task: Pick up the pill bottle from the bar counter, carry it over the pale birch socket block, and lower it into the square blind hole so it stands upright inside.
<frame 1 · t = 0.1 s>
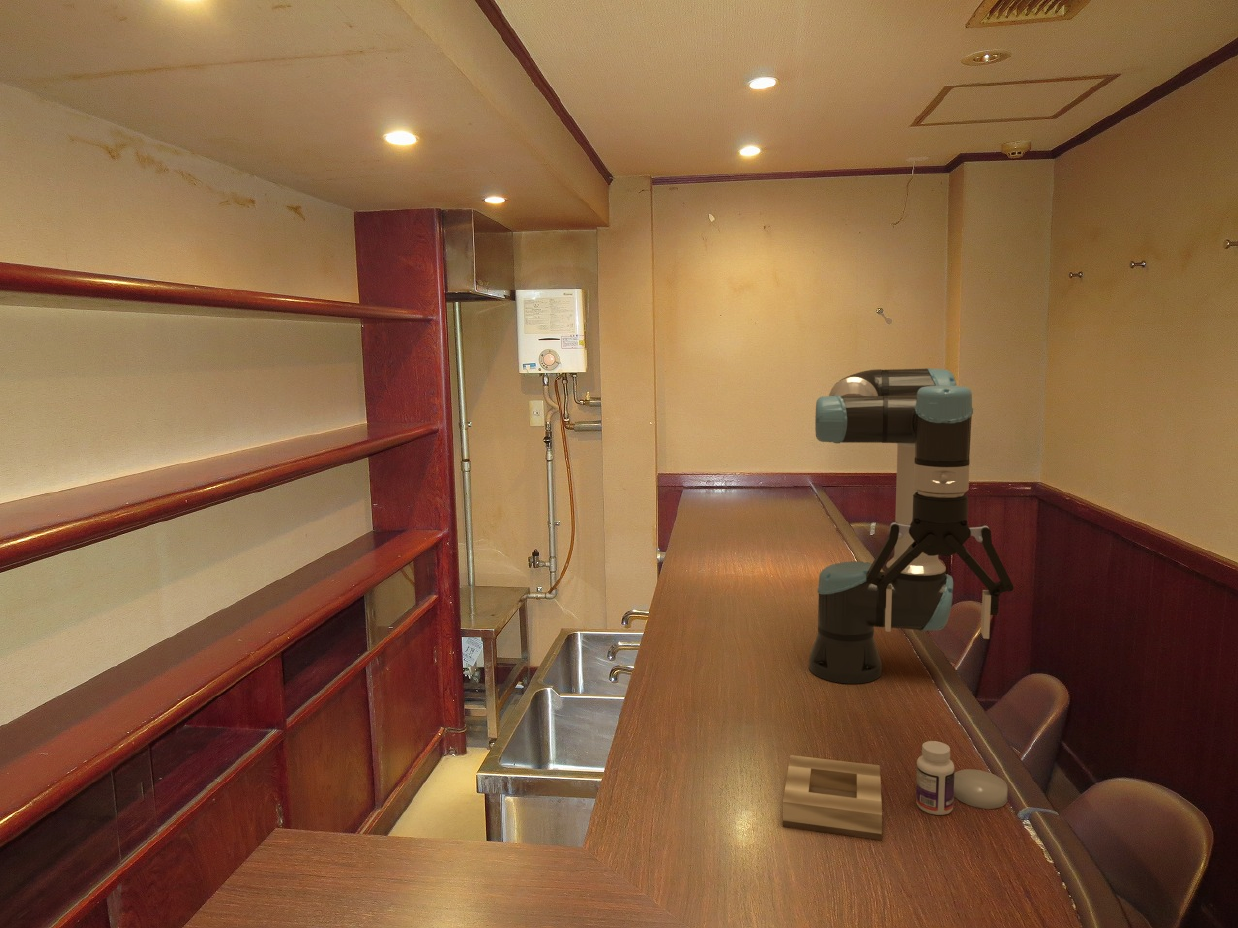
hand: (935, 632, 122), 28 cm above the counter, fingers open, 13 cm apart
pill bottle: (934, 807, 126), on the counter
socket block: (832, 806, 126), on the counter
beige oval dome: (978, 794, 128), on the counter
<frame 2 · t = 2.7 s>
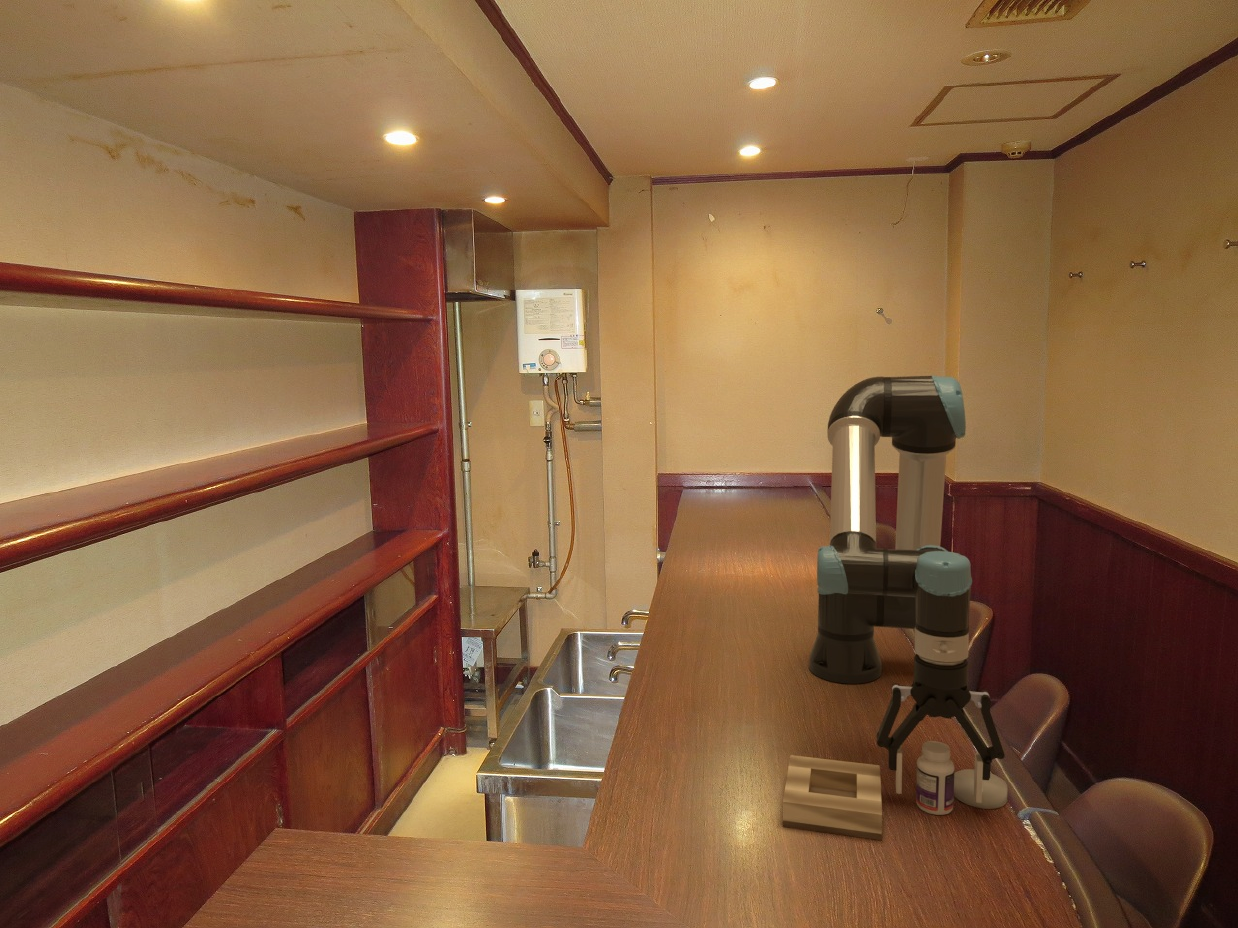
hand: (937, 793, 125), 2 cm above the counter, fingers open, 11 cm apart
nothing on the counter moved.
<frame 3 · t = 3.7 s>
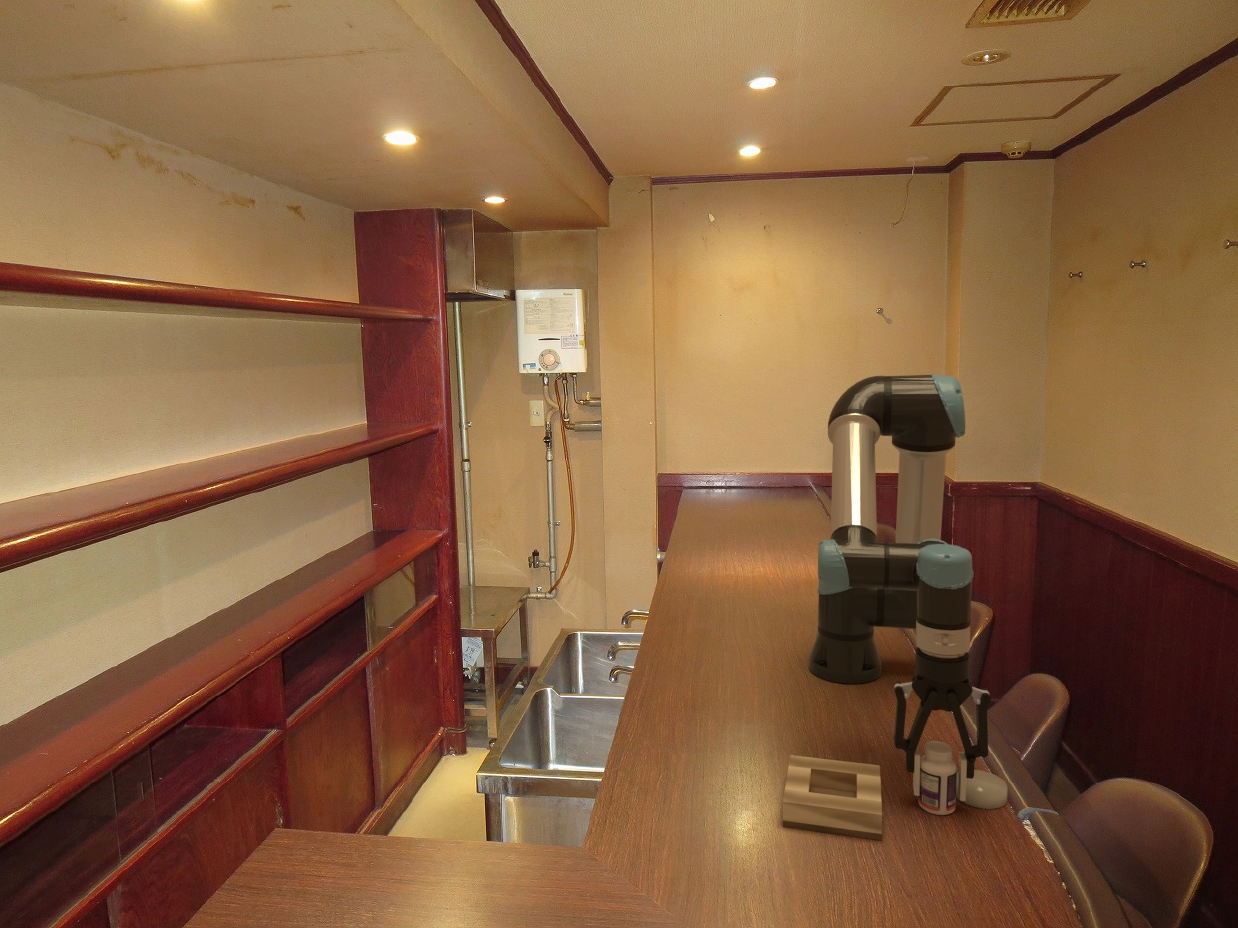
hand: (938, 793, 125), 2 cm above the counter, fingers open, 6 cm apart
pill bottle: (936, 807, 126), on the counter, touching gripper
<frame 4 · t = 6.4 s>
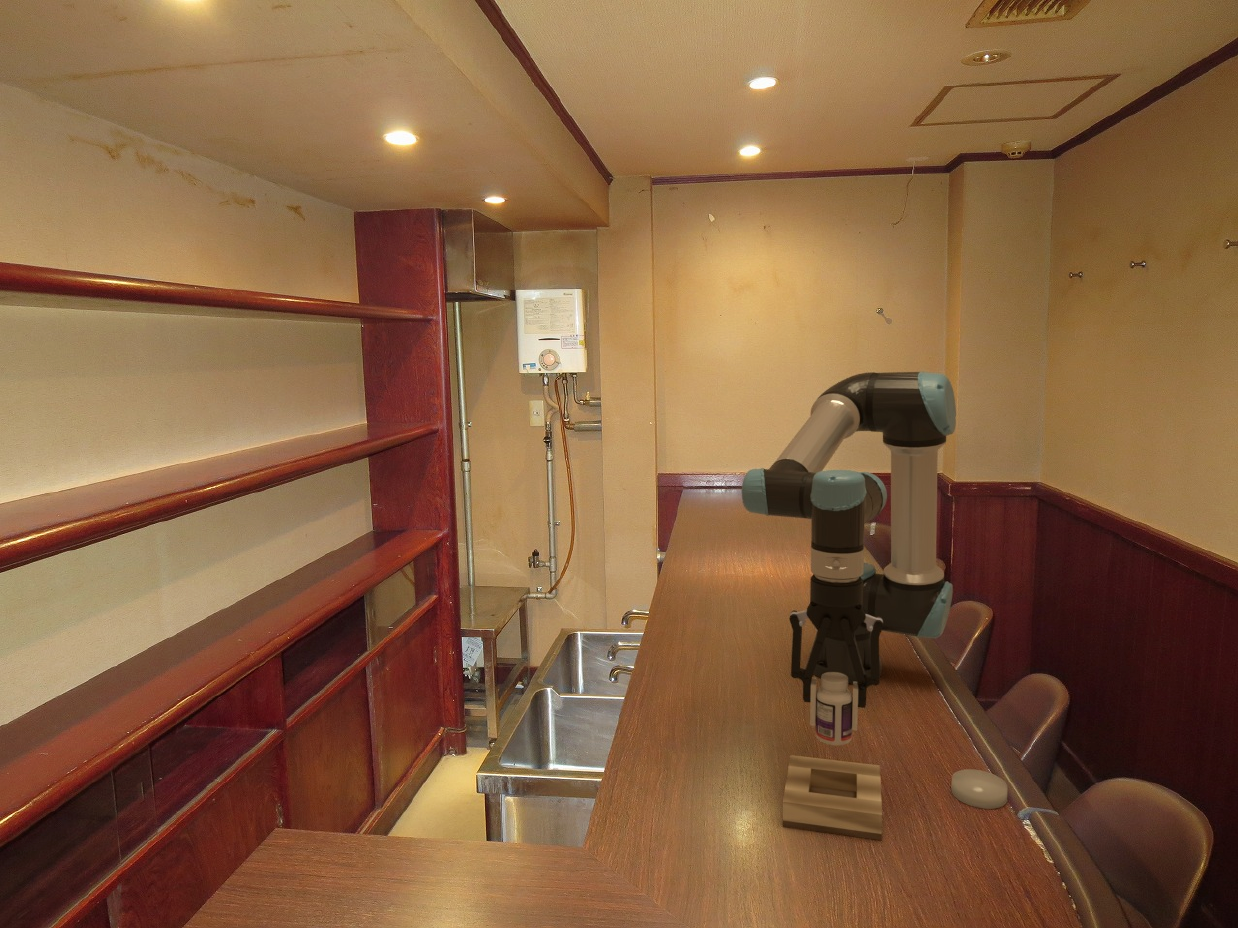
hand: (833, 723, 124), 14 cm above the counter, fingers closed on pill bottle, 5 cm apart
pill bottle: (833, 738, 124), point 11 cm above the counter, touching gripper
when the fingers open (5 cm above the counter, at t = 8.8 s): pill bottle drops 2 cm, resting on socket block.
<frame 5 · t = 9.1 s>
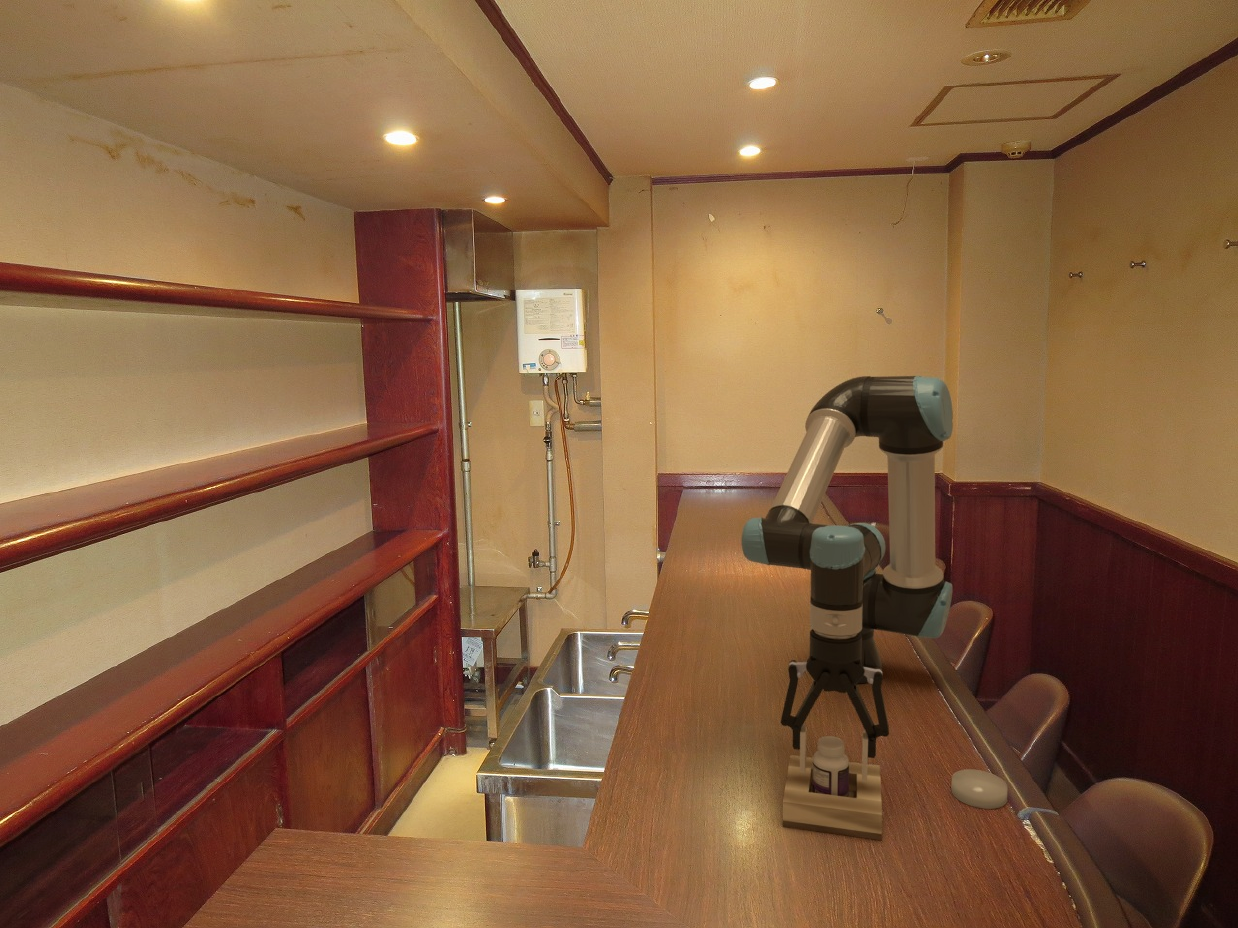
hand: (833, 771, 125), 6 cm above the counter, fingers open, 8 cm apart
pill bottle: (830, 801, 126), point 1 cm above the counter, touching socket block
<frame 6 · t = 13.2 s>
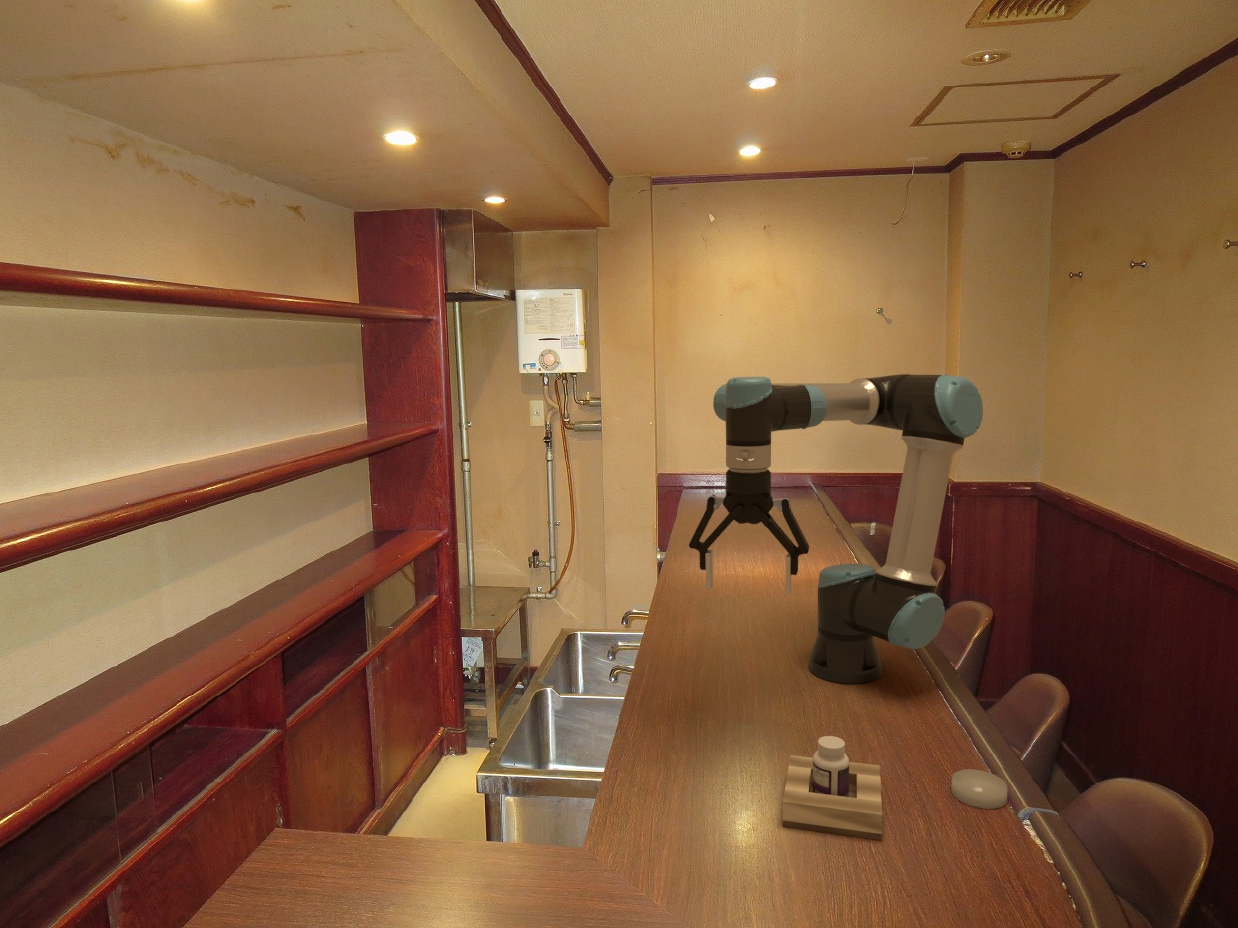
hand: (748, 590, 141), 29 cm above the counter, fingers open, 13 cm apart
nothing on the counter moved.
at the end: pill bottle 0.4 cm off-centre on the socket block, point 0.8 cm above the socket block's base; pill bottle tilted 0°; the gripper is holding nothing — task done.
